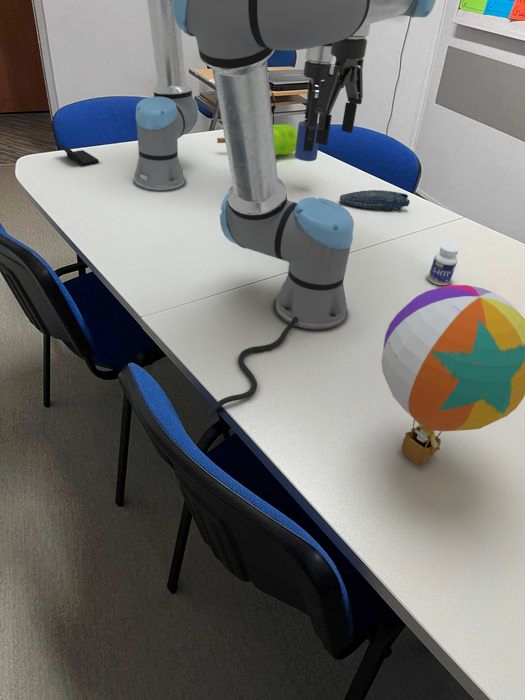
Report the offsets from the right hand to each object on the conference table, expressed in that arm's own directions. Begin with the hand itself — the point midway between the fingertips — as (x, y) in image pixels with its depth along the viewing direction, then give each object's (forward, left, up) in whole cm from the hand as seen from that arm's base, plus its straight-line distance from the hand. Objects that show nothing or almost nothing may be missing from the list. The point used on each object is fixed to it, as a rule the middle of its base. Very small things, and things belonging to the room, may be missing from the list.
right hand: (334, 137), depth 126 cm
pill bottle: (-16, -30, -26) cm, 43 cm away
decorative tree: (+59, +27, -26) cm, 70 cm away
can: (+31, +8, -15) cm, 35 cm away
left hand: (+31, +8, -12) cm, 34 cm away
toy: (-74, -20, -26) cm, 81 cm away
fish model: (+25, -15, -26) cm, 39 cm away
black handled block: (+31, +83, -26) cm, 92 cm away
